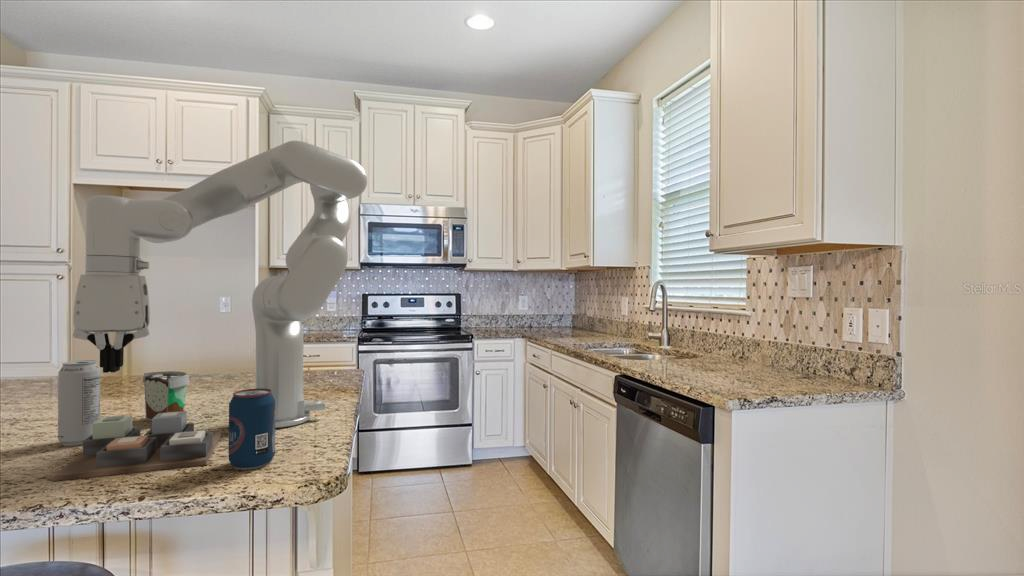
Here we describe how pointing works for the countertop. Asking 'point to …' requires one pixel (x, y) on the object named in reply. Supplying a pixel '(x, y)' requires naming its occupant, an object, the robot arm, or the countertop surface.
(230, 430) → the soda can
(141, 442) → the terracotta key
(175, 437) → the ivory key
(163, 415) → the slate key
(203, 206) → the robot arm
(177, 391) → the food container
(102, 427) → the sage key
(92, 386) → the energy drink can
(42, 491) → the countertop surface
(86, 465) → the keypad
